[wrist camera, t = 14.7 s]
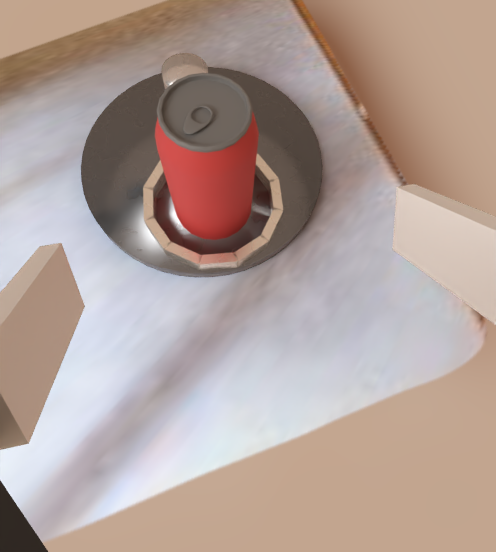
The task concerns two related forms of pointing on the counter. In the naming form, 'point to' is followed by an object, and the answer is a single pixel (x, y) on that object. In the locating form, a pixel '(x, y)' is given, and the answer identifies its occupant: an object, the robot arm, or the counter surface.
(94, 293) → the counter surface
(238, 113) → the beer can
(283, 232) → the carrier plate
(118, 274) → the counter surface
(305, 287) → the counter surface
